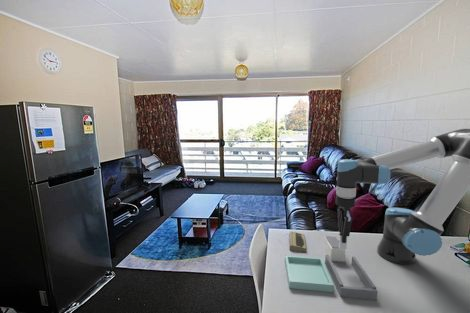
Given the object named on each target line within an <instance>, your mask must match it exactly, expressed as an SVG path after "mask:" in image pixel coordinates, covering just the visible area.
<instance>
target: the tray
mask: <svg viewBox="0 0 470 313" xmlns="http://www.w3.org/2000/svg"><path fill="white" fill-rule="evenodd" d="M284 264H285V270H286V276H287V281H288V288H289V289H296V290H305V291H306V290H307V291H318V292H327V293H333V292H334V290H335V289H334V287H335V284H334V282H333V280H332V277H331V275H330V273H329V271H328V268H327V266H326V264H325V261H324V260H323V258H322V257H310V256H299V255H284Z"/></svg>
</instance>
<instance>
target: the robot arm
mask: <svg viewBox="0 0 470 313" xmlns="http://www.w3.org/2000/svg"><path fill="white" fill-rule="evenodd" d="M447 157H451V158H452V163H451V164H450V166H449V167H448V168H447V170H446V171H445V173H444V174H443V175H442V176H441V178H440V179H439V181H438V182H437V183H436V184H435V187H434V188H433V190H432V191H431V193H430V194H429V195H428V196H427V198H426V199H425V201H424V202H423V204H422V205H421V207H420V208H419V209H418V210H417V211H414V210H413V209H409V208H404V207H388V208H386V210H385V214H384V223H383V231H382V232H383V234H382V237H381V240H380V242H379V243H378V245H377V250H376V251H377V254H378V255H379V256H380V257H382V258H383V259H385V260H387V261H389V262H392V263H395V264H400V265H404V266H405V265H413V264H415V262H416V257H417V256H422V257H423V256H424V257H425V256H431V255H434V254H436V253H438V251H440V250H441V248H442V246H443V242H442V240H443V239H442V237H441V236H442V234H443V233H444V231H445V230H444V227H443V224H444V222H445V221H446V220H447V218H449V216H450V215H451V214H452V212H453V210H455V208H456V206H457V205H458V203H459V202H460V201H461V199H463V197H464V196H465V194H466V193H467V191H468V190H469V189H470V128H461V129H456V130H453V131H449V132H446V133H442V134H439V135H436V136H433V137H430V139H429V140H427V141H425V142H424V141H423V142H421V143H417V144H412V145H410V146H406V147H402V148H400V149H396V150H392V151H389V152H386V153H382V154H379V155H375V156H373V157H372V156H371V157H368V158H365V159H362V158H361V159H360V158H359V159H348V158H345V159H339V160H338V162H337V169H336V172H337V173H336V187H335V188H334V191H336V192H335V194H336V195H335V205H337V208H336V210H337V230H338V232H339V233H338V235H339V236H338V240H339V249H345V250H347V247H348V246H347V244H348V237H350V234H351V227H352V222H353V220H354V217H353V216H351V215H352V210H351V208H353V207H356V196H357V184H372V185H373V184H374V185H375V184H378V185H383V184H384V185H385V184H388V183H389V182H390V180H391V170H393V169H396V168H401V167H405V166H408V165H411V164H415V163H419V162H423V161H426V160H427V161H428V160H431V159H434V158H438V159H442V158H447Z"/></svg>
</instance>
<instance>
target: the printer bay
mask: <svg viewBox="0 0 470 313" xmlns="http://www.w3.org/2000/svg"><path fill="white" fill-rule="evenodd" d="M324 264H325V266H326V269H327V271H328V273H329V275H330V278H331V280H332V282H333V284H334V287H335V289H336V291H337V293H338V295H339V297H340V298H350V299H351V298H352V299H359V300H360V299H361V300H371V301H373V300H374V301H378V300H377V298H378V289H377V287H376V286H375V283H374V282H373V281H372V279H371V278H370V277H369V275H368V274H367V272H366V271H365V269H364V268H363V267H362V265H361V263H360V261H358V259H357V258H356V257H355V256H351V264H350V266H351V268H352V269H353V270H354V272H355V273H356V275H357V276H358V278H359V279H360V281H361V283H362V285H363V287H361V286H360V287H358V286H347V285H344V282H343V281H342V279H341V277H340V275H339V273H338V272H337V269H336V267H335V266H334V263H333V261H331V259H330V257H329V255H327V254H325V260H324Z"/></svg>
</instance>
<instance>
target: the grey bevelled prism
mask: <svg viewBox="0 0 470 313" xmlns="http://www.w3.org/2000/svg"><path fill="white" fill-rule="evenodd" d="M322 245H323V246H322V247H323V249H324V251H325V253H326V255H329V257H330V259H331V261H332V262H345V256H346V249H339V237H337V236H329V235H327V236H326V235H325V236H323V244H322Z"/></svg>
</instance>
